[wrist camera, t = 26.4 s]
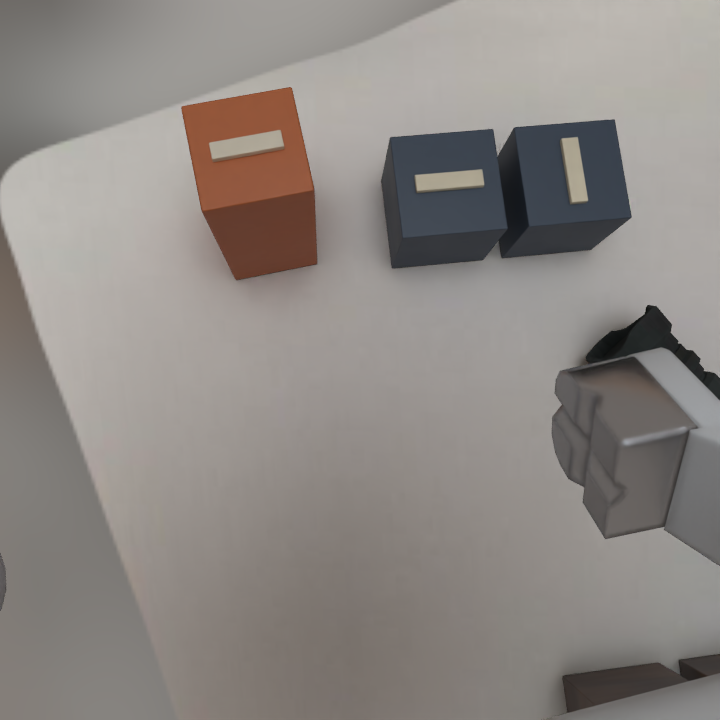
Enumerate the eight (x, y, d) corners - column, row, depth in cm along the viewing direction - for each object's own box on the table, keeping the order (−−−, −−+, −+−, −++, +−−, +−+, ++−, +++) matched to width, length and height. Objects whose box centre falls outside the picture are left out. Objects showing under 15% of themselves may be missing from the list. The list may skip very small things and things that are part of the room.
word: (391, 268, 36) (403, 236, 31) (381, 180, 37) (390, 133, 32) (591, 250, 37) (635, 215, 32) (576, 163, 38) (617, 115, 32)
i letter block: (235, 280, 36) (200, 208, 26) (219, 202, 36) (178, 101, 26) (317, 264, 36) (314, 187, 26) (300, 187, 37) (291, 81, 26)
